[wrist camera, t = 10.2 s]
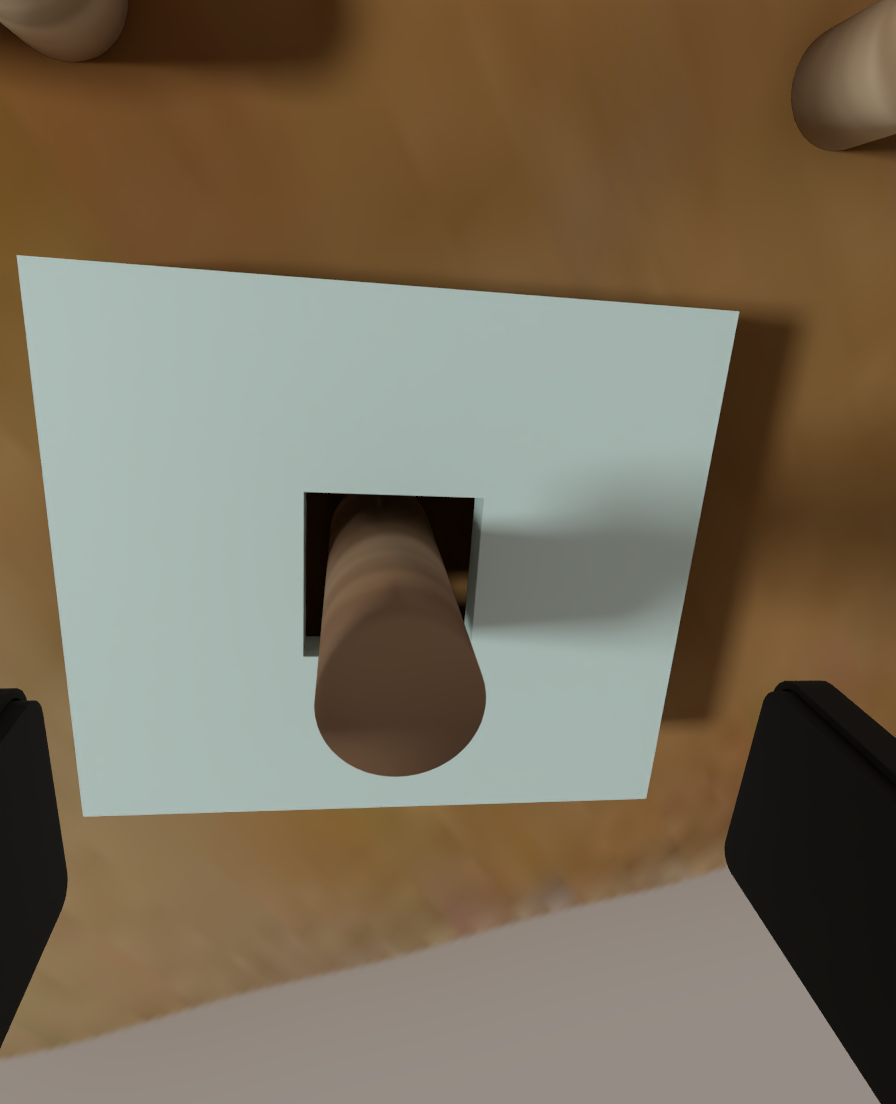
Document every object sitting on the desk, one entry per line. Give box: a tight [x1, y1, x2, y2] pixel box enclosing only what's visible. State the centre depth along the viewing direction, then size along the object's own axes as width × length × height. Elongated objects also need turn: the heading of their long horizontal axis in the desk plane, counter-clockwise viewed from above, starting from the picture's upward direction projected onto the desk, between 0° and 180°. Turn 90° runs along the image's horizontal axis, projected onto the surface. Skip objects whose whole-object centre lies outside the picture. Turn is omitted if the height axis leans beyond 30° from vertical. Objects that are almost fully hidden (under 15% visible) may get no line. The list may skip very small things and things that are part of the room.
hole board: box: [17, 255, 739, 817], centre depth 20 cm, size 14×16×4 cm
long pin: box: [314, 494, 486, 777], centre depth 17 cm, size 3×3×10 cm
